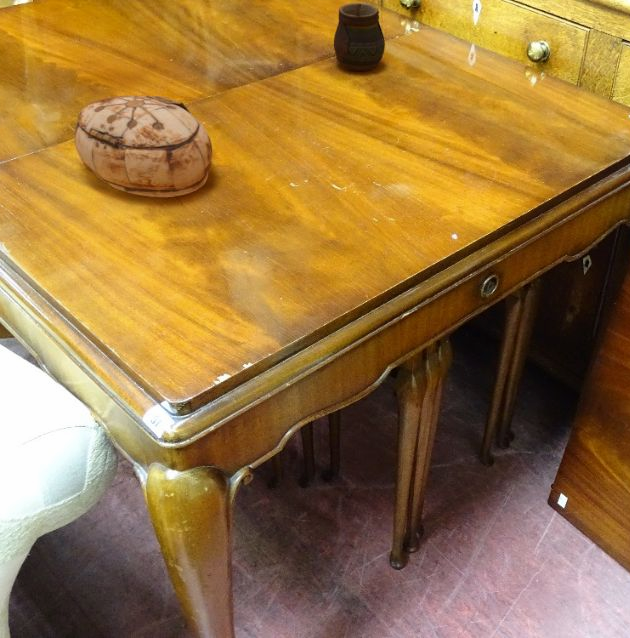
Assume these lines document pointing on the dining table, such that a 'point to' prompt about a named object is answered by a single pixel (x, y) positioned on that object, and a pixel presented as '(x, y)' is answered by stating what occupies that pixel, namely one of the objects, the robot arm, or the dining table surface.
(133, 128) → the trinket box
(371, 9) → the mate gourd
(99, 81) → the dining table surface
